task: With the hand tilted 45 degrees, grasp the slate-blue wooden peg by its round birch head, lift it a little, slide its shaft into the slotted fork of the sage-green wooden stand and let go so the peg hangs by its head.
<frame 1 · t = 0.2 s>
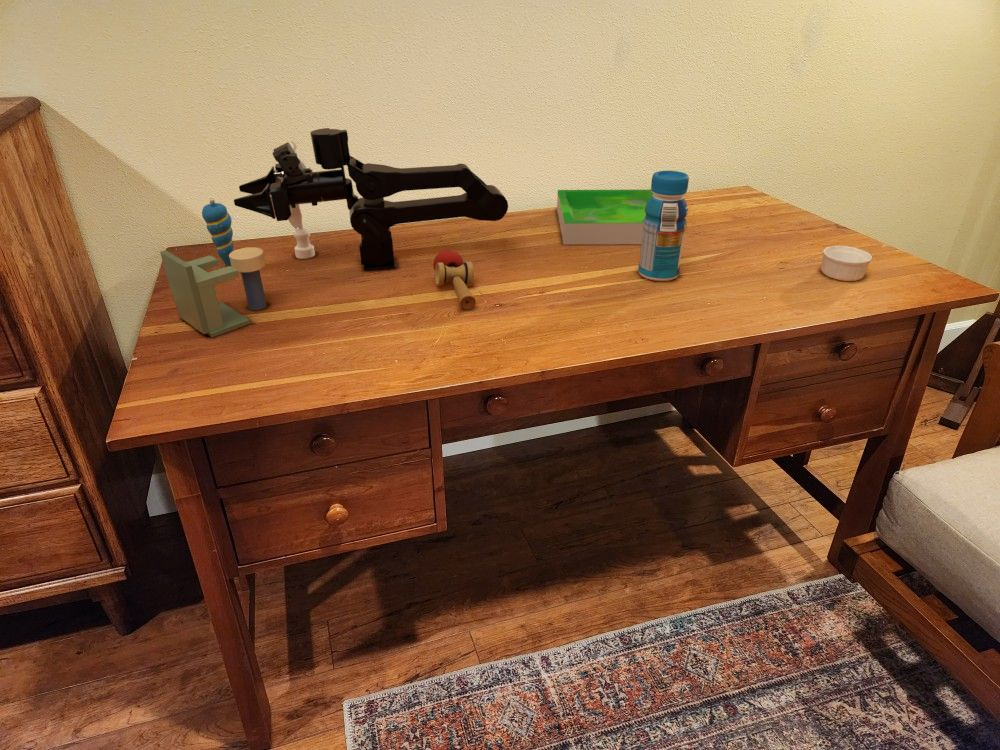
hand: (236, 195, 128), 17 cm above the table, tool horizontal, fingers open, 9 cm apart
decorative finial: (308, 255, 146), on the table
stand: (227, 317, 121), on the table
tray: (612, 226, 161), on the table
ornament: (228, 269, 140), on the table
peg: (257, 306, 124), on the table
beverage bottle: (658, 275, 136), on the table
kendama: (457, 291, 130), on the table
ramekin: (841, 274, 135), on the table
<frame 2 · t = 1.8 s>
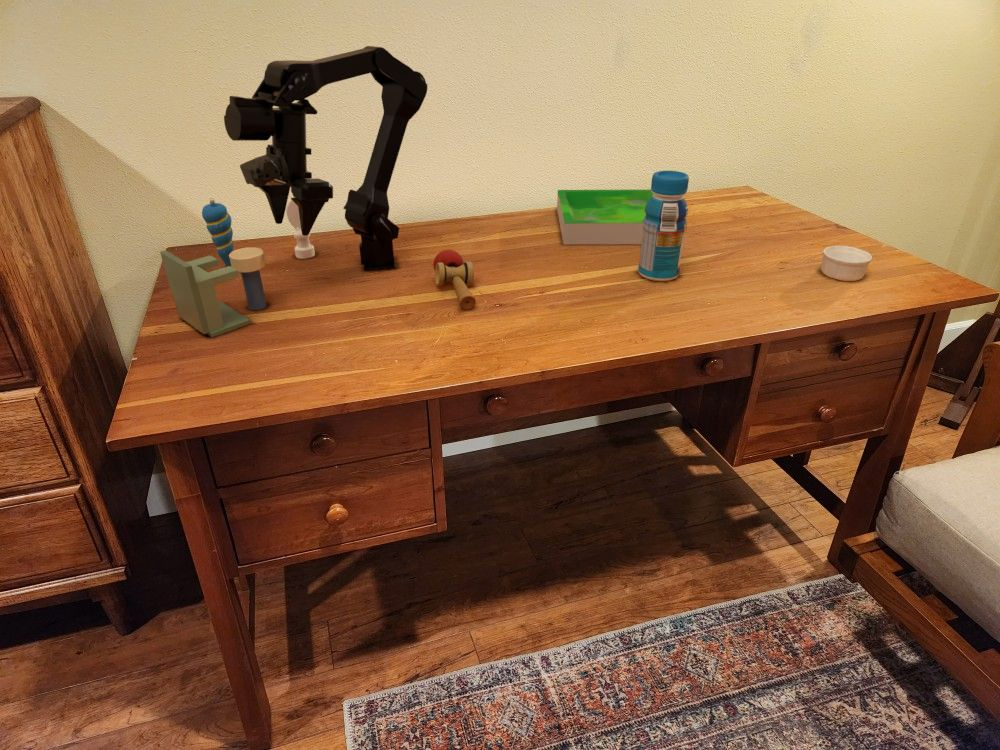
hand: (291, 229, 124), 12 cm above the table, tool pointing down, fingers open, 9 cm apart
nothing on the table moved.
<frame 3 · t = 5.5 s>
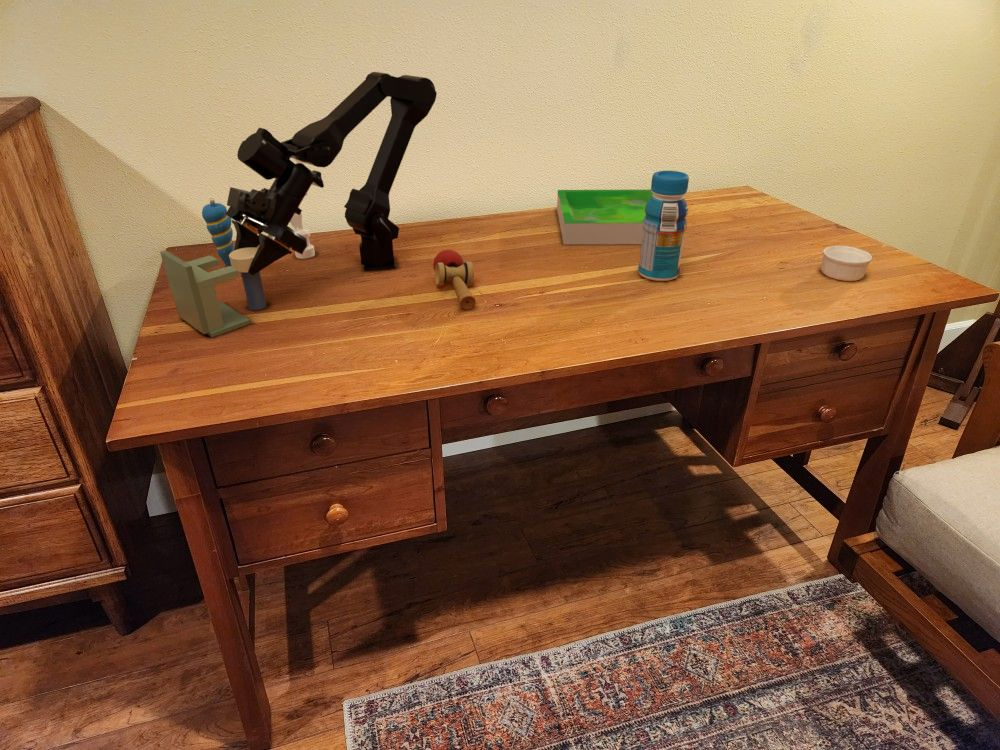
hand: (241, 269, 119), 8 cm above the table, tool tilted 45°, fingers closed on peg, 6 cm apart
peg: (257, 306, 124), on the table, touching gripper
everything else where it was.
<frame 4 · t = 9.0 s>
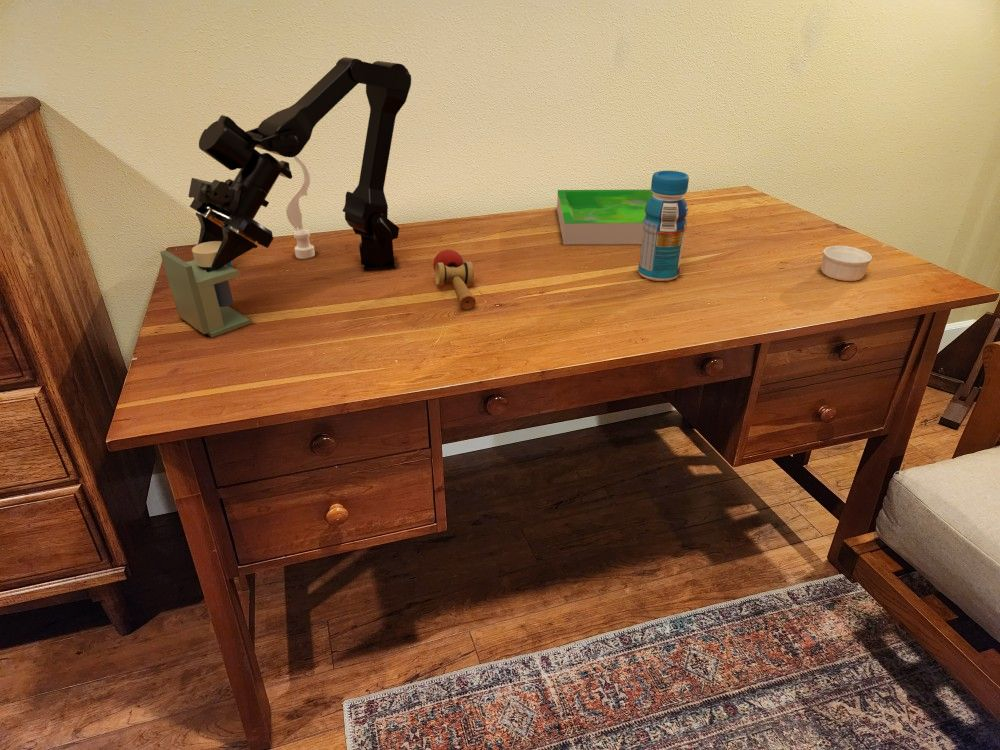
hand: (205, 263, 114), 11 cm above the table, tool tilted 45°, fingers closed on peg, 6 cm apart
peg: (224, 303, 119), point 3 cm above the table, touching gripper
everything else where it was.
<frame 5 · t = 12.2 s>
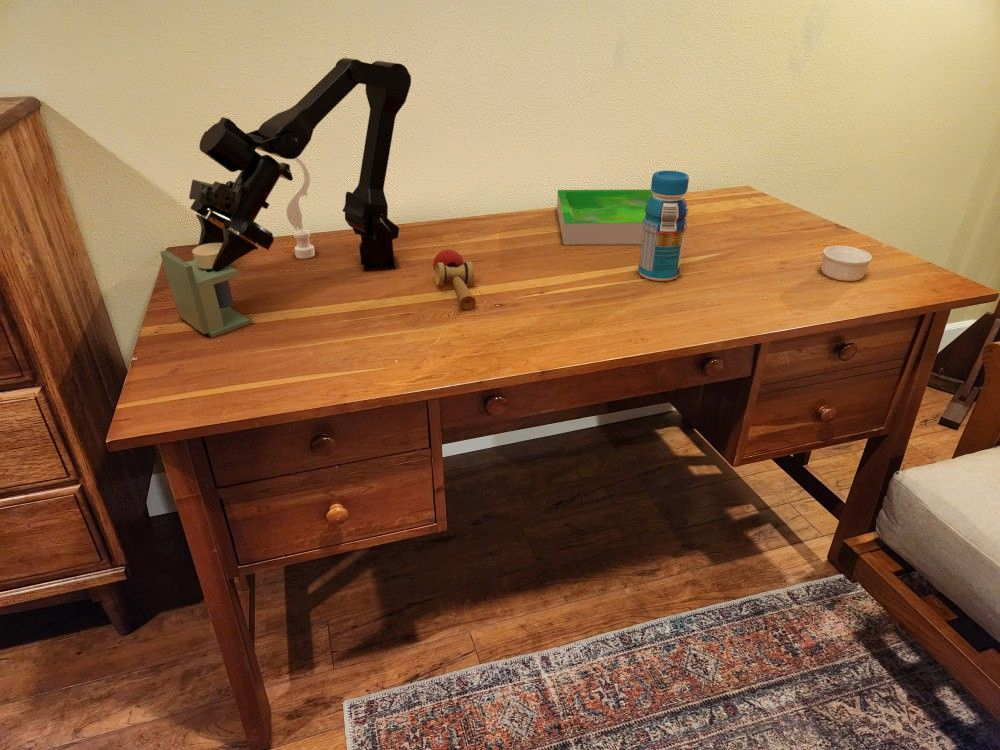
hand: (206, 265, 114), 10 cm above the table, tool tilted 45°, fingers closed on peg, 6 cm apart
peg: (224, 304, 119), point 2 cm above the table, touching gripper
everything else where it was.
when the fingers open (11 cm above the table, at t = 15.0 s): peg drops 1 cm, resting on stand.
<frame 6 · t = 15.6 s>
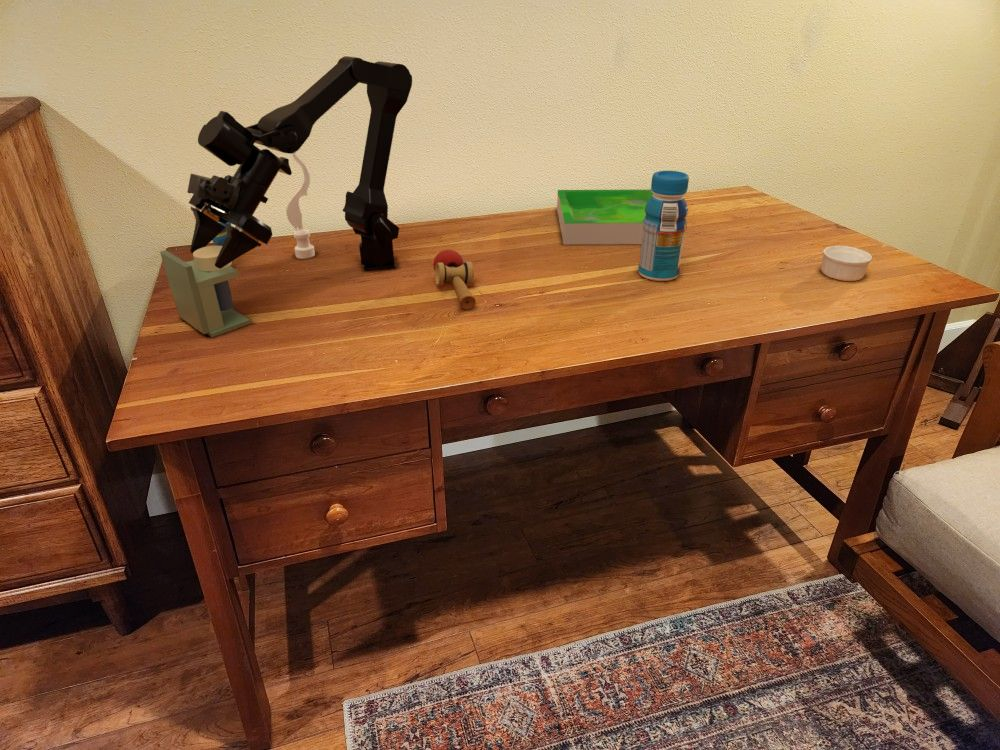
hand: (204, 260, 114), 11 cm above the table, tool tilted 45°, fingers open, 9 cm apart
peg: (224, 307, 120), point 2 cm above the table, touching stand
everything else where it was.
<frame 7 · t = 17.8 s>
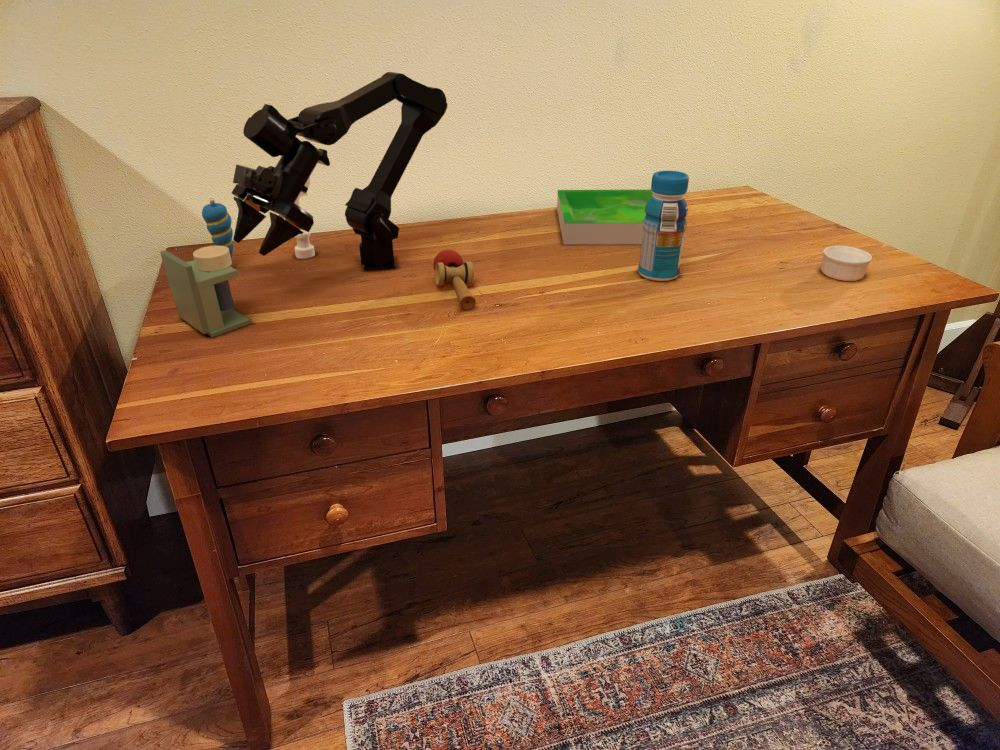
hand: (248, 247, 119), 11 cm above the table, tool tilted 45°, fingers open, 9 cm apart
nothing on the table moved.
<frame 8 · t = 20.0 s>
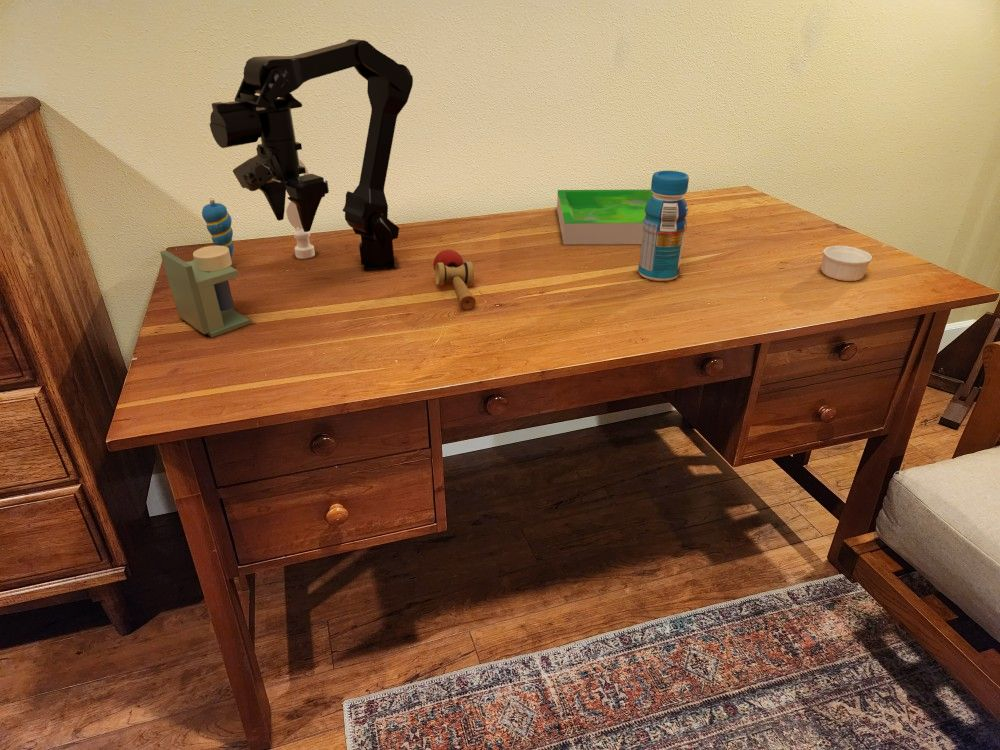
hand: (293, 225, 124), 13 cm above the table, tool pointing down, fingers open, 9 cm apart
nothing on the table moved.
at the end: peg 0.4 cm off-centre on the stand, point 2.0 cm above the stand's base; peg tilted 0°; the gripper is holding nothing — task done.
